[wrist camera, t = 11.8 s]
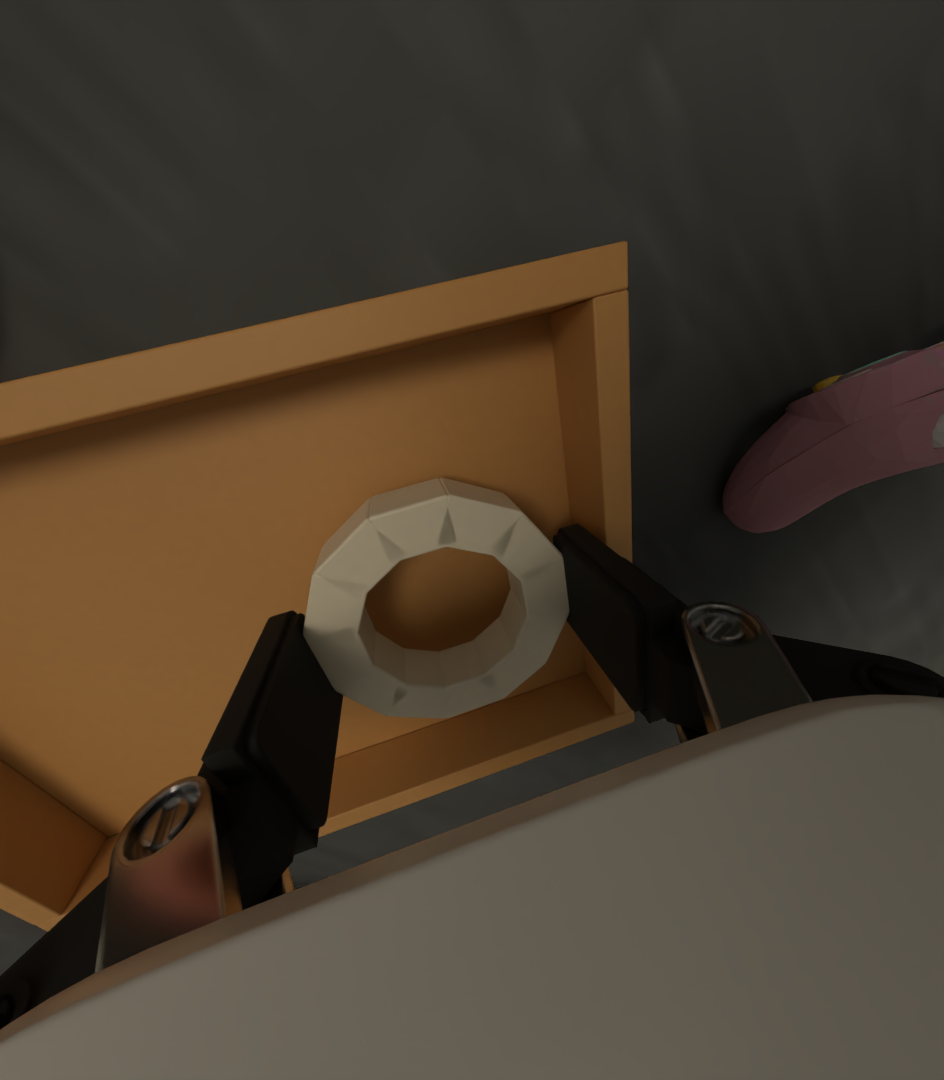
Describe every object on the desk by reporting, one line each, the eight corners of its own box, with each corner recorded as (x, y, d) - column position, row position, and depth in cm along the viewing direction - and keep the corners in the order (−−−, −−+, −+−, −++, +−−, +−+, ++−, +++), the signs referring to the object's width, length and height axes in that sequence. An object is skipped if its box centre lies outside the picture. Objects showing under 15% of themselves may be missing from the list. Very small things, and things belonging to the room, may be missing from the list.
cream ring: (271, 523, 9) (250, 550, 8) (530, 450, 10) (554, 464, 8) (366, 704, 12) (364, 747, 11) (557, 640, 13) (578, 673, 12)
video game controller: (903, 346, 14) (1341, 156, 7) (940, 456, 14) (1411, 372, 7) (677, 426, 14) (919, 303, 7) (717, 540, 14) (999, 537, 7)
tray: (-364, 490, 7) (-738, 549, 5) (564, 274, 9) (629, 239, 7) (111, 836, 14) (53, 935, 12) (596, 667, 16) (635, 722, 14)
